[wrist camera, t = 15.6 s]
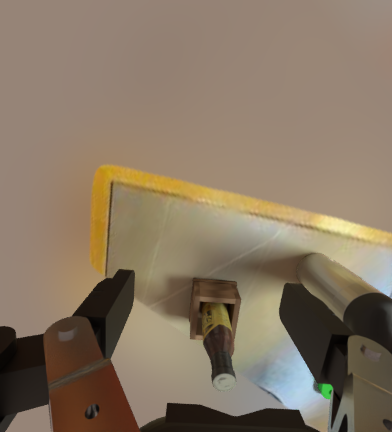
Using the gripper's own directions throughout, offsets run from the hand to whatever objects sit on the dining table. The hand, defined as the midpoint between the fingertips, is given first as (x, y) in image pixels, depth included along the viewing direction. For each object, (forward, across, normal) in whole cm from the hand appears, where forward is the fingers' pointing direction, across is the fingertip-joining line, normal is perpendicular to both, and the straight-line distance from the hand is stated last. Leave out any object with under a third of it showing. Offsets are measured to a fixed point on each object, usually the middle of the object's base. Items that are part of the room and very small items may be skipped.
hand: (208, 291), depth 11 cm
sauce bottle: (+37, -7, +27) cm, 47 cm away
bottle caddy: (+38, -7, +27) cm, 47 cm away
